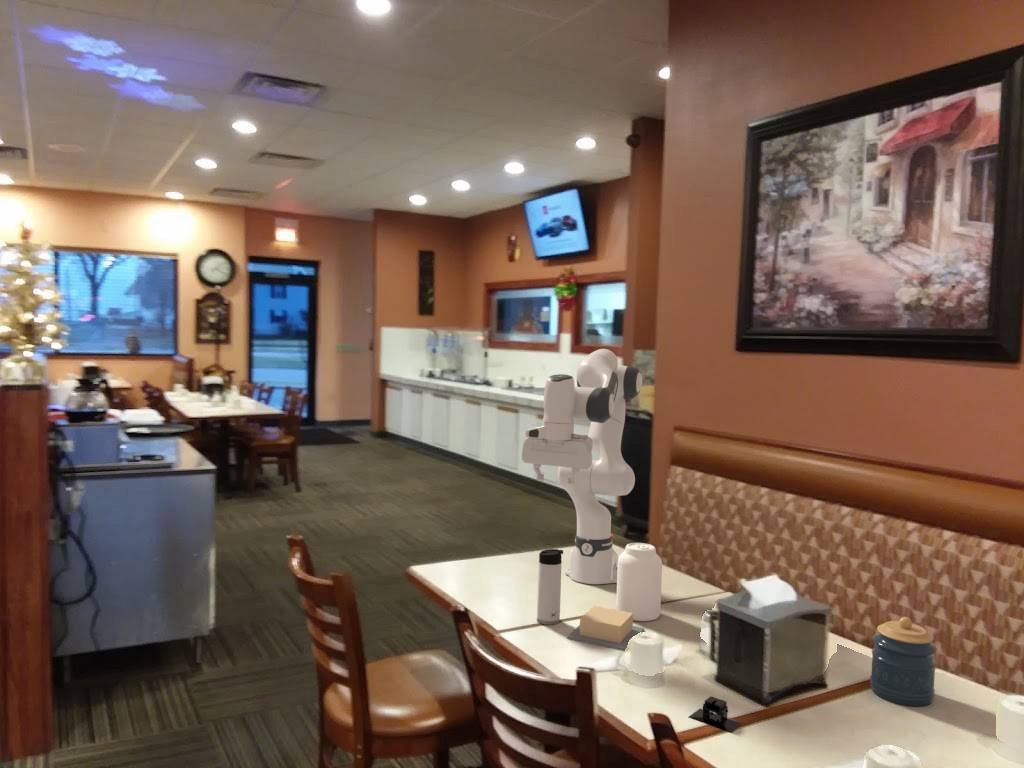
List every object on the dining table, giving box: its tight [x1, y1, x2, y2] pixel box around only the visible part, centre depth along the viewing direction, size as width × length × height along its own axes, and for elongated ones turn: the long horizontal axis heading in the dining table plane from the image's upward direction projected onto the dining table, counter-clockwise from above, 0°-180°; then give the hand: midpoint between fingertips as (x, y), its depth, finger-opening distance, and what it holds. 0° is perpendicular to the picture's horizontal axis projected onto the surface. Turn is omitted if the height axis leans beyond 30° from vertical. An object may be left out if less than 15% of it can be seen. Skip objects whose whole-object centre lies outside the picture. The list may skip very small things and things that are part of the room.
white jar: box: [615, 542, 663, 622], centre depth 219 cm, size 12×12×20 cm
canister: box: [869, 616, 938, 707], centre depth 172 cm, size 13×13×18 cm
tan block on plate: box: [566, 605, 645, 651], centre depth 203 cm, size 16×16×5 cm
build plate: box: [688, 695, 742, 734], centre depth 158 cm, size 12×7×5 cm, turn 51°
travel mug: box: [536, 548, 564, 626], centre depth 211 cm, size 6×7×20 cm
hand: (555, 482), depth 214 cm, fingers open, 8 cm apart
